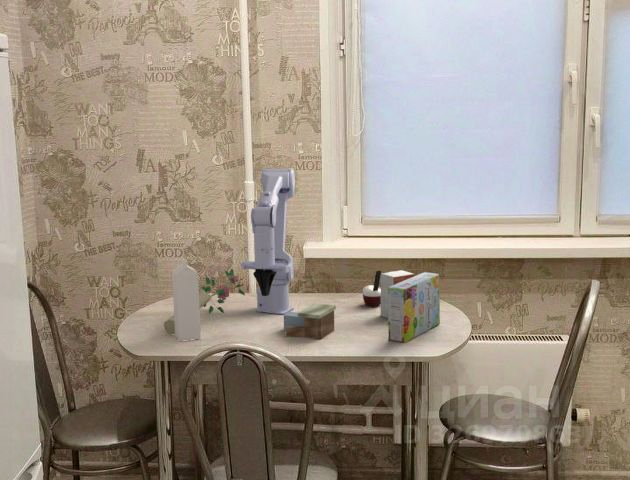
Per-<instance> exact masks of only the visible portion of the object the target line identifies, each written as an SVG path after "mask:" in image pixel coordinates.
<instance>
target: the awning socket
mask: <svg viewBox="0 0 630 480" xmlns="http://www.w3.org/2000/svg"><path fill="white" fill-rule="evenodd" d="M336 309H337V306H336V305H333V304H327V303H326V304H325V303H316V302H314V303H313V304H311V305H309V306H307V307H306V308H304V309H302V310H300V311H297V313H298V316H299V317H304V323H305V327H297V326H286V332H285V336H286V337H303V338H310V339H317V340H322V339H324V338H325V337H327V336H328V335H329V334H331V333H333V332H334V331H335V310H336Z"/></svg>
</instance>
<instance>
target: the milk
mask: <svg viewBox="0 0 630 480" xmlns="http://www.w3.org/2000/svg"><path fill="white" fill-rule="evenodd" d="M187 262H188V261H187V260H186V259H184V257H182V258H181V263H180V264H179V265H177V266H176V267H174V268H173V269H172V271H171V274H172V276H171V277H172V296H173V315H174V321H175V335H174V337H175V338H176V337H177V338H178V339H177V338H176V339H177V340H179V341H181V342H184V341H183V340H190V341H192V340H191V339H198V340H201V339H202V336H201V317H200V315H201V314H200V309H199V290H200V288H199V287H200V286H199V272H198V271H197V270H196V269H195V268H194V267H192V266H190V265H188V264H187ZM200 338H201V339H200ZM179 341H178V342H179Z"/></svg>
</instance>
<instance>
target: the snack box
mask: <svg viewBox="0 0 630 480" xmlns="http://www.w3.org/2000/svg"><path fill="white" fill-rule="evenodd" d="M440 296H441V295H440V273H433V272H425V271H424V272H422V273H419V274H416V275H414V277H412V278H409V279H407V280H405V281H402V282H400V283H397V284H395V285H392V286H390V287H388V321H387V322H388V329H387V330H388V341H393V342H398V343H406V342H409V341H410V340H412V339H414V338H417V337H418V336H419V335H422V334H423V333H425V332H427V331H429V330H431V329H433V328H434V327H437V326H438V325H440V323H441V315H440V314H441V313H440V311H441V309H440V305H441V304H440V303H441V302H440V301H441V299H440Z"/></svg>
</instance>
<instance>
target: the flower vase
mask: <svg viewBox="0 0 630 480" xmlns="http://www.w3.org/2000/svg"><path fill="white" fill-rule="evenodd" d="M224 273H225V275H226V276H227V277H228V280H229V283H228V284H227V285H226V284H220V285H219V286H218V287H217V289H215V292H214V293H211V295H210V292H213V289H212V288H211V286H212V287H214V286H215V285H216V281H215V279H214V278H211V280H210V278H209V277H208V276H205V284H206V285H208V286H206V287H205V286H200V288H199V310H200V309H201V308H205V307H207V304H208V303H209V302H210V301H212V299H213V296H217V298H218V300H217V301H216V303H218V304H224V303H225V300H227V298H229V297H230V288H231V289H232V290H234V287H229V285H231V284H232V285H235V284H236V285H235V288H240V287H242V286H243V285H242V284H237V283H239V282H238V281H239V279H238V276H237V275H235V271H234V269H233V268H231V269H230V270H229V272H228V270H224ZM210 284H211V286H210ZM235 291H237V292H238V293H239V294H241V295H243V296H246V293H245V291H243V290H242V289H239V290H236V289H235ZM213 305H214V306H216V304H215V303H212V304H211V305H210V306H209V308H208V314H209V315H210V314H211V313H212V312H213V311H214V310H215V308H214V306H213ZM216 308H217V309H216V310H218V311H219V312H221V313H222V314H225V311H224V309H223V308H222V307H221V306H219V307H218V306H217V307H216ZM163 328H164V331H165V332H166V333H167V334H169V335H171V334H175V321H174V314H173V315H172V316H171V317H170V318H168V319H167V320H166V321H164V323H163Z"/></svg>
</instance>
